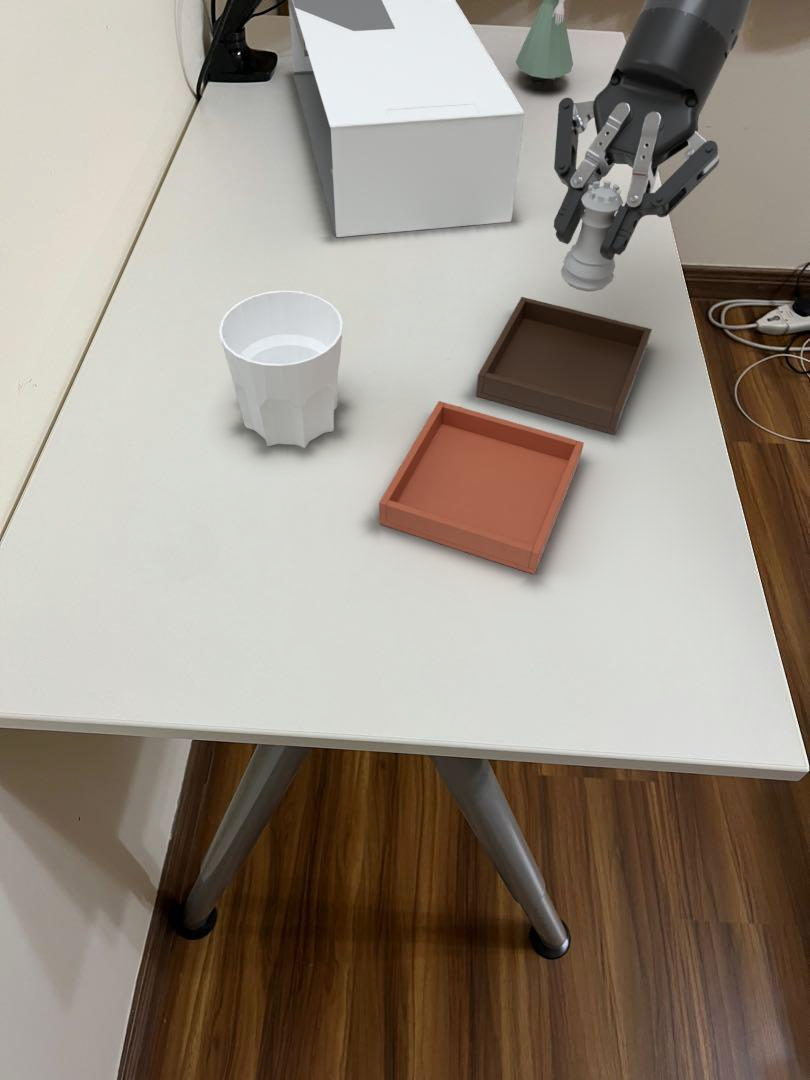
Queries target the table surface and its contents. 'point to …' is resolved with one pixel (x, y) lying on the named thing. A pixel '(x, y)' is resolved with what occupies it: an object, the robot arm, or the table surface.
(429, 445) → the terracotta tray
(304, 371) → the cup
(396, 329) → the table surface
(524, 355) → the walnut tray
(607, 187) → the rook chess piece
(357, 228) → the white box
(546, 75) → the character figurine
